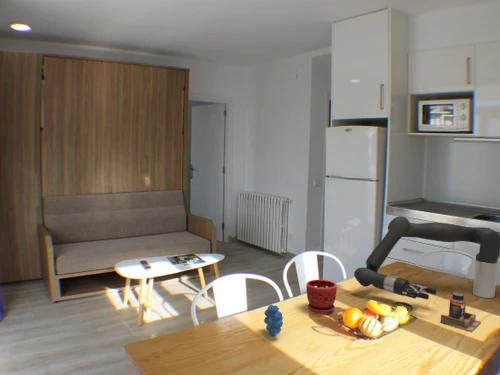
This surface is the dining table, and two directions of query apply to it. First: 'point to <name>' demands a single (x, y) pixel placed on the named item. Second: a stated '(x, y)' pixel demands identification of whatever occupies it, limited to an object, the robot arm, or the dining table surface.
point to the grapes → (273, 319)
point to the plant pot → (321, 295)
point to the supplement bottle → (457, 306)
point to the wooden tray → (461, 322)
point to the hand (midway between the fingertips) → (432, 294)
